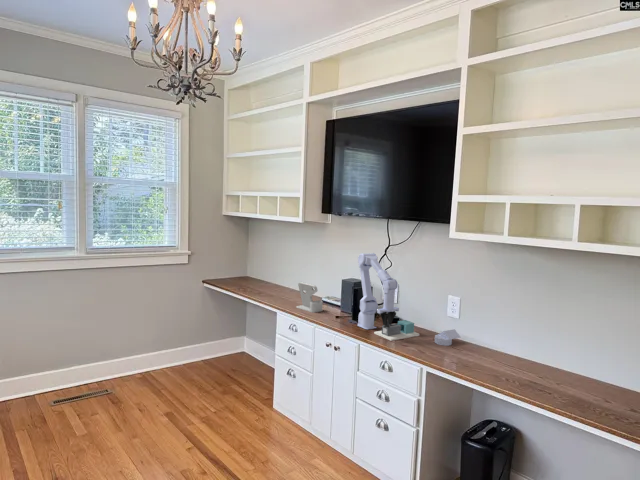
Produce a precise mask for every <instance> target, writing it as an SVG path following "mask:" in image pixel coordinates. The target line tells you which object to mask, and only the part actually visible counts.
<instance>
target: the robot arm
mask: <svg viewBox="0 0 640 480" xmlns="http://www.w3.org/2000/svg"><path fill="white" fill-rule="evenodd" d="M357 260H358V261H357V263H358V268H359V272H360V274H359V275H360V281H361V288H362V296H363V297H362V298H361V299H360V300H359V310H360V312H358V316H357V317H358V318H357V319H358V320H357V322H358V323H357V324H356V326H357V327H359V328H362V329H364V330H368V331H369V330H373V329H377V326H375V314H376V313H377V314H379V315H380V317H381V320H382V324H383V325H385V326H386V325H387V321H389V325H391V324H393V320H394V319H395V317H396V315H397V312H399V311H400V307H398V306H395V294H396V293H395V292H396V290H397V288H398V287H399V286H398V285H399V283H398V281H397V279H395V278H392V277H391V275H390V274H389V272H388V270H386V269H383V268H382V265H381V264H380V262H379V261H378V260H379V259H378V255H377V254H376V253H375V252H373V253H363V252H362V253H359V255H358V256H357ZM371 268H373V269H374V270H375V271H376V272H377V277H378V279H379V280H380V281H381V283H382V288H383V293H384V294H383V304H382V305H383V306H382V308H379V305H378V302H377V298H376V297H374V296H373V290H372V284H371V283H372V282H371V275H370V270H371Z"/></svg>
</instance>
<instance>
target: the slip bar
mask: <svg viewBox="0 0 640 480" xmlns="http://www.w3.org/2000/svg"><path fill="white" fill-rule="evenodd" d="M386 327H389V321H388V320H387V325H386V326H385V327H383V333H385V334H387V328H386Z"/></svg>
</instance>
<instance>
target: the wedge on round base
mask: <svg viewBox="0 0 640 480" xmlns="http://www.w3.org/2000/svg"><path fill="white" fill-rule="evenodd" d="M460 338H461V336H460V334H459V333H458V331H457V330H456V328H455V329H447V330H443V331H441V332H440V333H438V334H435V335H434V343H435V344H437V345H438V346H445V347H448V346H451V345H453V344H452V342H453V341H452V340H456V339H460Z"/></svg>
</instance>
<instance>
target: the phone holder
mask: <svg viewBox="0 0 640 480" xmlns="http://www.w3.org/2000/svg"><path fill="white" fill-rule="evenodd" d="M297 285H298V286H297V287H298V290H299V293H300V298H301V303H302V304H300V305H296V306H295V307H296V308H297V309H300V310H303V311H306V312H309V313H320V312H323V311H324V309H323V305H324V304H323V303H324V301H322V300H313V297H312V296H313V295H315V294H316V293H317V292H318V287H317V286H316V285H315V284H312V283H311V284H310V283H306V282H302V281H300V282H298V283H297ZM304 291H305V292H304Z"/></svg>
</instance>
